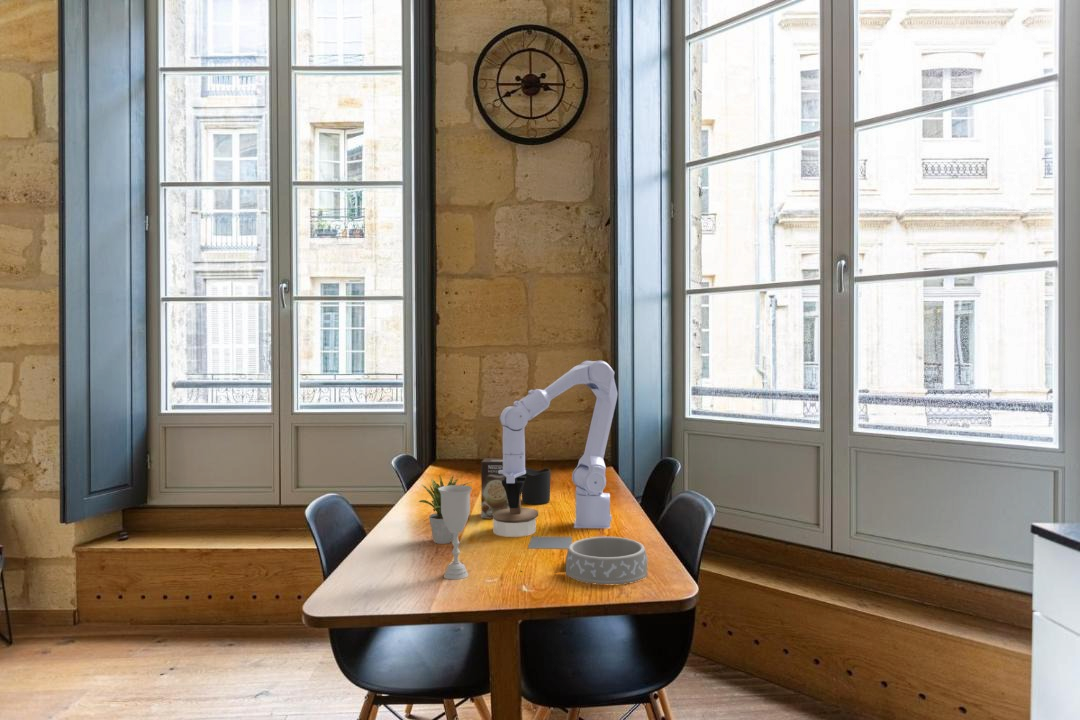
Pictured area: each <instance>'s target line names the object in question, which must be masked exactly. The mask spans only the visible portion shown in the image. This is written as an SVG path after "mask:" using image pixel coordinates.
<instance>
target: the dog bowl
mask: <svg viewBox="0 0 1080 720" xmlns="http://www.w3.org/2000/svg"><path fill="white" fill-rule="evenodd" d="M648 559H649V558H648V555H647V551H646V548H645V546H644V545H643V543H641V542H638V541H636V540H634V539H631V538H627V537H619V536H592V537H586V538H582V539H578V540H575V541H572V544H570V545H569V547H568V549H567V554H566V557H565V575H566V576H567V575H568V576H567V577H569V578H570V577H571V579H572V578H573V580H575V579H576V581H578V580H579V581H578V582H581V581H583V582H582V583H585V582H588V583H587V584H590V583H596V584H595V585H597V584H624V583H630V582H635V581H638V580H640V579H643V578H645V577H647V578H648V561H649V560H648ZM635 583H636V582H635ZM624 585H625V584H624Z"/></svg>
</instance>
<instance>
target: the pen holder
mask: <svg viewBox="0 0 1080 720" xmlns="http://www.w3.org/2000/svg"><path fill="white" fill-rule="evenodd" d="M525 470H526V474H524V475H521V476H526V480H525V482H524V485H523V488H522V493H521V503H523V504H525V505H530V504H531V505H534V506H536V505H538V506H539V505H546V504H548V503H549V502H550V499H551V478H552V477H551V476H552V475H551V469H550V468H543V469H540V470H539V469H537V470H536V469H534V468H530V467H525ZM531 505H530V506H531Z"/></svg>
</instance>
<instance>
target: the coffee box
mask: <svg viewBox="0 0 1080 720" xmlns="http://www.w3.org/2000/svg"><path fill="white" fill-rule="evenodd" d="M480 466H481V468H480V469H481V472H480V474H481V476H480V477H481V479H480V480H481V481H480V482H481V483H480V485H481V486H480V487H481V489H480V490H481V491H480V493H481V494H480V495H481V496H480V499H481V500H480V501H481V502H480V504H481V505H480V507H481V508H480V509H481V510H480V511H481V512H480V519H493V513H494V512H495V511H498V510H502V509H507V508H509V504H508V499H507V495H506V491H505V489H504V487H503V485H502V480H504V478H505V476H504V475H503V474H499V473H498V471H499V470H503V458H492V457H491V458H490V457H489V458H487V457H485V458H484V459H482V460H481V465H480Z"/></svg>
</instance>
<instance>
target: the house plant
mask: <svg viewBox="0 0 1080 720" xmlns="http://www.w3.org/2000/svg"><path fill="white" fill-rule="evenodd" d="M438 478H439V483H437V482H436V480H434V479H433V478H431V485H432V486H431V485H429V488H430V489H429V488H428V487H427V486H425V485H423V484H421V486H422V487H424V489H425V490H426V492H427V493H428V494H430V495H429V496H431V498H432V500H431V502H430V501H429V500H425V499H420V500H419V501H418V502H417V503H424V504H426V505H430V506H431V507H432V509H433V512H434V513H431V514H430V515H428V516H429V517H428V519H429V523H430V528H431V535H432V539H433V542H434V543H435V544H439V545H440V544H441V545H444V544H450V542H451V543H452V542H453V539H454V536H453V533H451V532H449V530H448V528H447V526H446V524H445V522H444V520H443V517H442V514H441V493H440V491H439V488H440V487H443V486H445V485H444V482H443V479H442V476H441V475H440V474H439V477H438ZM458 481H459V478H456V479H455V480H454V475H452V476H451V478H450V479H449V482H448V483H447V485H446V486H449V485H457V484H456V483H457V482H458ZM470 483H472V481H469V482H465V483H463V484H462V485H465V486H467V484H470ZM435 512H436V513H435Z"/></svg>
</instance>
